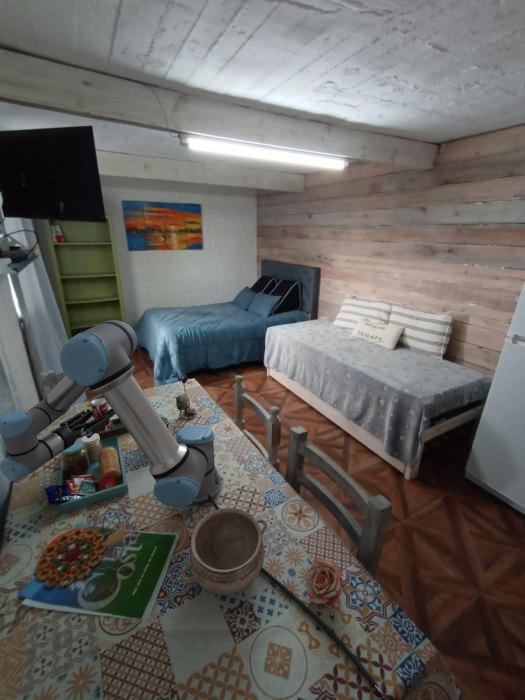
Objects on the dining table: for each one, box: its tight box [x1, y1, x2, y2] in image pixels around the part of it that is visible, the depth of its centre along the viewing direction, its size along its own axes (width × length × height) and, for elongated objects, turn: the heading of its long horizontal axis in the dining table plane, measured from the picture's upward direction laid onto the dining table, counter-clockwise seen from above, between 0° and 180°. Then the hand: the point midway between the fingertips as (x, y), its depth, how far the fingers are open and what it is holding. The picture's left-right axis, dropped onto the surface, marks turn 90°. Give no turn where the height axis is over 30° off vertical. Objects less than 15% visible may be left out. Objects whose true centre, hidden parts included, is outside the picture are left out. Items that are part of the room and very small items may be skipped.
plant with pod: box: [175, 374, 198, 421], centre depth 147 cm, size 8×11×20 cm
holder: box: [96, 417, 129, 441], centre depth 138 cm, size 8×16×3 cm, turn 124°
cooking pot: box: [179, 507, 268, 596], centre depth 81 cm, size 25×19×12 cm
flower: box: [306, 557, 344, 609], centre depth 77 cm, size 10×9×8 cm
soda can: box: [90, 397, 111, 432], centre depth 119 cm, size 5×5×12 cm
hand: (111, 407), depth 124 cm, fingers closed on soda can, 5 cm apart
